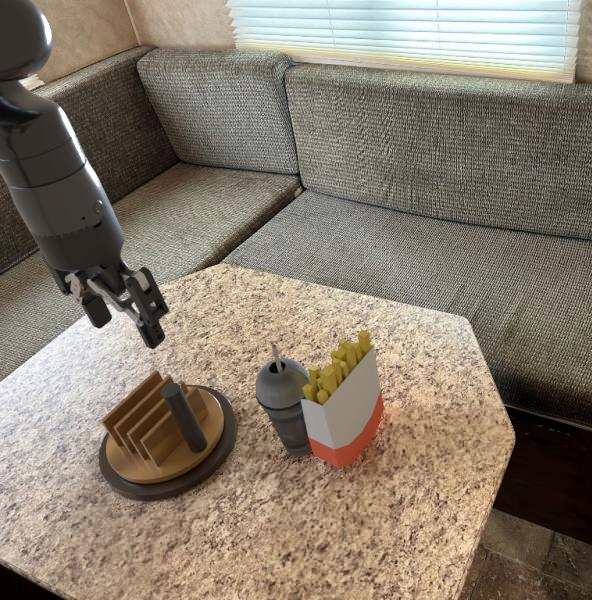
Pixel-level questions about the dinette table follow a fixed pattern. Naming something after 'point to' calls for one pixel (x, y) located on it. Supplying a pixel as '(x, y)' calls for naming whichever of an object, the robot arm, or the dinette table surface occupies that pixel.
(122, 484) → the base
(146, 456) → the plate rack
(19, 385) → the dinette table surface
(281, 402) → the beverage cup
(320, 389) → the french fries container
